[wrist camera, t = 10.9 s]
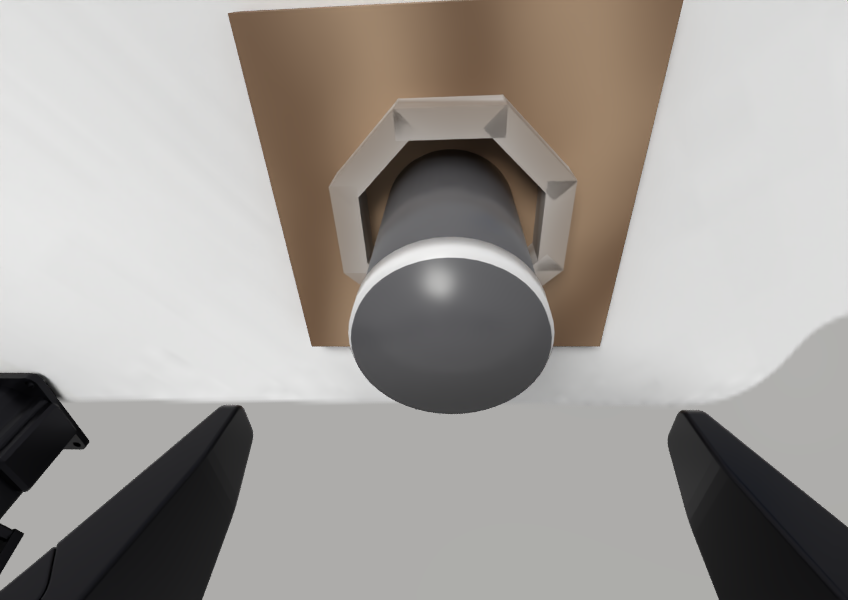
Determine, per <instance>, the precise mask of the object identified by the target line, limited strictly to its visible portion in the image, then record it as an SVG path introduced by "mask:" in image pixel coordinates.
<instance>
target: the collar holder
mask: <svg viewBox="0 0 848 600" xmlns="http://www.w3.org/2000/svg"><path fill="white" fill-rule="evenodd" d="M682 4H683V0H451V1H432V2H413V3H393V4H374V5H355V6H336V7H317V8H298V9H279V10H260V11H241V12H233V13H228V16H229V20H230V24H231V28H232V32H233V36H234V40H235V44H236V48H237V52H238V56H239V60H240V63H241V67H242V71H243V75H244V79H245V83H246V87H247V91H248V95H249V99H250V103H251V107H252V111H253V115H254V119H255V123H256V127H257V131H258V135H259V139H260V143H261V147H262V151H263V155H264V159H265V163H266V166H267V170H268V174H269V178H270V182H271V186H272V190H273V194H274V198H275V202H276V206H277V210H278V214H279V218H280V222H281V226H282V230H283V234H284V238H285V242H286V246H287V250H288V254H289V258H290V262H291V266H292V269H293V273H294V277H295V281H296V285H297V289H298V293H299V297H300V301H301V305H302V309H303V313H304V317H305V321H306V325H307V329H308V333H309V337H310V341H311V345H312V346H350V344H349V335H348V330H349V320H350V316H351V312H352V309H353V305H354V302H355V299H356V295H357V292H358V290H359V288H360V285H361V283H362V282H363V280H364V279H365V277H366V274H367V271H368V267H369V264H370V260H371V257H372V253H373V249H374V246H375V242H376V239H377V235H378V232H379V228H380V225H381V221H382V218H383V214H384V211H385V207H386V203H387V200H388V196H389V193H390V190H391V188H392V185H393V183H394V181H395V180H396V178H397V176H398V175H399V174H400V173H401V171H402V170H403V169H404V168H405V167H406V166H407V165H408V164H410V163H411V162H412V161H414V160H415V159H417V158H419V157H421V156H422V155H425V154H428V153H430V152H434V151H438V150H445V149H459V150H465V151H469V152H472V153H475V154H478V155H480V156H482V157H484V158H485V159H487V160H489V161H490V162H491V163H493V164H494V165H495V166H496V167H497V168H498V169H499V170H500V171H501V172H502V174H503V175H504V177H505V178H506V180H507V182H508V184H509V186H510V188H511V192H512V195H513V198H514V202H515V205H516V209H517V212H518V216H519V219H520V223H521V226H522V230H523V233H524V236H525V240H526V243H527V247H528V250H529V254H530V257H531V261H532V264H533V268H534V271H535V275H536V277H537V278H538V280H539V281H540V283H541V285H542V287H543V289H544V291H545V295H546V298H547V301H548V304H549V308H550V311H551V315H552V318H553V322H554V343H553V346H600V343H601V339H602V335H603V331H604V326H605V322H606V318H607V314H608V310H609V306H610V302H611V298H612V293H613V289H614V285H615V281H616V277H617V273H618V269H619V264H620V260H621V256H622V252H623V248H624V244H625V240H626V236H627V231H628V227H629V223H630V219H631V215H632V211H633V207H634V203H635V198H636V194H637V190H638V186H639V182H640V178H641V174H642V169H643V165H644V161H645V157H646V153H647V149H648V145H649V141H650V136H651V132H652V128H653V124H654V120H655V116H656V112H657V107H658V103H659V99H660V95H661V91H662V87H663V83H664V79H665V74H666V70H667V66H668V62H669V58H670V54H671V50H672V45H673V41H674V37H675V33H676V29H677V25H678V21H679V17H680V12H681V8H682Z"/></svg>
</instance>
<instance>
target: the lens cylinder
mask: <svg viewBox="0 0 848 600" xmlns="http://www.w3.org/2000/svg"><path fill="white" fill-rule="evenodd" d="M348 335H349V344H350V347H351V351H352V354H353V356H354V358H355V360H356V362H357V365H358V367H359V368H360V370H361V371H362V373H363V374H364V376H365V377H366V378H367V379H368V380H369V382H370V383H371V384H372V385H374V386H375V387H376V388H377V389H378V390H379V391H381V392H382V393H383V394H385V395H386V396H388V397H390V398H391V399H393V400H395V401H397V402H399V403H401V404H404V405H406V406H409V407H412V408H415V409H419V410H423V411H427V412H433V413H443V414H444V413H445V414H463V413H470V412H477V411H481V410H486V409H489V408H492V407H495V406H498V405H500V404H502V403H505V402H507V401H509V400H511V399H512V398H514V397H516V396H517V395H519V394H520V393H522V392H523V391H524V390H526V389H527V388H528V387H529V386H530V385H531V384H532V383H533V382H534V381H535V380H536V378H537V377H538V376H539V375H540V373H541V372H542V370H543V368H544V367H545V365H546V363H547V361H548V359H549V356H550V354H551V351H552V347H553V343H554V322H553V318H552V315H551V311H550V308H549V304H548V301H547V298H546V295H545V291H544V289H543V287H542V285H541V283H540V281H539V280H538V278H537V277H536V275H535V271H534V268H533V264H532V261H531V257H530V254H529V250H528V247H527V243H526V240H525V236H524V233H523V230H522V226H521V223H520V219H519V216H518V212H517V209H516V205H515V202H514V198H513V195H512V192H511V188H510V186H509V184H508V182H507V180H506V178H505V177H504V175H503V174H502V172H501V171H500V170H499V169H498V168H497V167H496V166H495V165H494V164H493V163H491V162H490V161H489V160H487V159H485V158H484V157H482V156H480V155H478V154H475V153H472V152H469V151H465V150H459V149H445V150H438V151H434V152H430V153H428V154H425V155H422V156H421V157H419V158H417V159H415V160H414V161H412V162H411V163H410V164H408V165H407V166H406V167H405V168H404V169H403V170H402V171H401V173H400V174H399V175H398V176H397V178H396V180H395V181H394V183H393V185H392V188H391V190H390V193H389V196H388V200H387V203H386V207H385V211H384V214H383V218H382V221H381V225H380V228H379V232H378V235H377V239H376V242H375V246H374V249H373V253H372V257H371V260H370V264H369V267H368V271H367V274H366V277H365V279H364V280H363V282H362V283H361V285H360V288H359V290H358V292H357V295H356V299H355V302H354V305H353V309H352V312H351V316H350V320H349V330H348Z"/></svg>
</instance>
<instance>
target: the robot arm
mask: <svg viewBox="0 0 848 600" xmlns="http://www.w3.org/2000/svg"><path fill="white" fill-rule="evenodd" d="M252 440H253V430H252V427H251V425H250V422H249V420H248V417H247V415H246V413H245V410H244V408H243V407H242V406H240V405H223V406H221V407H219V408H218V409H217V410H215V411H214V412H213V413H212V414H211V415H209V416H208V417H207V418H206V419H205V420H204V421H202V422H201V423H200V424H199V425H197V426H196V427H195V428H194V429H193V430H192V431H190V432H189V433H188V434H187V435H186V436H184V437H183V438H182V439H181V440H180V441H179V442H177V443H176V444H175V445H174V446H173V447H172V448H170V449H169V450H168V451H167V452H166V453H164V454H163V455H162V456H161V457H160V458H158V459H157V460H156V461H155V462H154V463H153V464H151V465H150V466H149V467H148V468H147V469H145V470H144V471H143V472H142V473H141V474H140V475H138V476H137V477H136V478H135V479H133V480H132V481H131V482H130V483H129V484H128V485H126V486H125V487H124V488H123V489H122V490H120V491H119V492H118V493H117V494H116V495H115V496H113V497H112V498H111V499H110V500H109V501H107V502H106V503H105V504H104V505H103V506H101V507H100V508H99V509H98V510H97V511H96V512H94V513H93V514H92V515H91V516H90V517H88V518H87V519H86V520H85V521H84V522H83V523H81V524H80V525H79V526H78V527H77V528H76V529H74V530H73V531H72V532H71V533H70V534H68V535H67V536H66V537H65V538H64V539H62V540H61V541H60V542H59V543H58V544H57V547H53V548H51V549H50V550H49V551H48V552H47V553H46V554H45V555H43V556H42V557H41V558H40V559H38V560H37V561H36V562H35V563H34V564H33V565H31V566H30V567H29V568H28V569H26V570H25V571H24V572H23V573H22V574H20V575H19V576H18V577H17V578H15V579H14V580H13V581H12V582H11V583H9V584H8V585H7V586H6V587H4V588H3V589H2V590H1V591H0V600H202V598H203V596H204V593H205V590H206V587H207V585H208V582H209V579H210V577H211V573H212V571H213V568H214V566H215V563H216V560H217V557H218V554H219V552H220V549H221V547H222V544H223V541H224V538H225V535H226V533H227V530H228V527H229V525H230V522H231V519H232V516H233V513H234V510H235V507H236V503H237V500H238V496H239V492H240V488H241V484H242V480H243V476H244V472H245V468H246V464H247V460H248V456H249V452H250V448H251V444H252ZM88 443H89V440H88V438H87V437H86V436H85V434H84V433H83V432H82V430H81V429H80V428H79V427H78V425H77V424H76V422H75V421H74V420H73V419H72V417H71V416H70V415H69V413H68V412H67V411H66V409H65V408H64V407H63V405H62V404H61V403H60V401H59V400H58V399H57V397H56V396H55V395H54V393H53V392H52V391H51V389H50V388H49V387H48V386H47V384H46V383H45V382H44V380H43V379H42V378H41V377H39V376H38V375H36V374H32V373H0V519H1V518H2V516H3V515H4V514H5V513H6V511H7V510H8V509H9V508H10V507H11V506H12V504H13V503H14V502H15V501H16V500H17V499H18V497H19V496H20V495H21V494H22V493H23V492H26V491H28V490H30V488H31V487H32V486H33V485H34V484H35V482H36V481H37V480H38V479H39V478H40V476H41V475H42V474H43V473H44V472H45V470H46V469H47V468H48V467H49V466H50V464H51V463H52V462H53V461H54V460H55V458H56V457H57V456H58V455H59V454H60V452H61V451H62V450H63V449H84V448H85V447H86V446H87V444H88ZM668 447H669V452H670V455H671V459H672V462H673V466H674V470H675V474H676V477H677V481H678V485H679V488H680V492H681V496H682V499H683V503H684V507H685V510H686V514H687V517H688V520H689V523H690V526H691V528H692V531H693V534H694V537H695V539H696V542H697V544H698V547H699V550H700V552H701V555H702V557H703V560H704V562H705V565H706V568H707V570H708V572H709V575H710V578H711V580H712V583H713V585H714V588H715V590H716V593H717V596H718V598H719V600H848V527H847V526H846V525H844V524H843V523H842V522H841V521H839V520H838V519H837V518H836V517H835V516H833V515H832V514H831V513H830V512H828V511H827V510H826V509H825V508H823V507H822V506H821V505H820V504H818V503H817V502H816V501H815V500H813V499H812V498H811V497H810V496H809V495H807V494H806V493H805V492H804V491H802V490H801V489H800V488H798V487H797V486H796V485H795V484H794V483H792V482H791V481H790V480H788V479H787V478H786V477H785V476H784V475H782V474H781V473H780V472H779V471H777V470H776V469H775V468H773V466H771V465H770V464H769V463H768V462H766V461H765V460H764V459H762V458H761V457H760V456H759V455H758V454H756V453H755V452H754V451H753V450H751V449H750V448H749V447H748V446H746V445H745V444H744V443H743V442H742V441H740V440H739V439H738V438H737V437H735V436H734V435H733V434H732V433H730V432H729V431H728V430H727V429H725V428H724V427H723V426H721V425H720V424H719V423H718V422H717V421H715V420H714V419H713V418H712V417H710V416H709V415H708V414H706V413H705V412H703V411H700V410H681V411H680V412H679V413H678V414H677V416H676V419H675V421H674V423H673V426H672V428H671V430H670V433H669V435H668ZM23 535H24V533H22V532H20V531H18V530H17V529H10V528H8V527H6V526H4V525H2V524H0V574H1V572H2V570H3V569H4V567H5V565H6V563H7V562H8V560H9V558H10V557H11V555H12V553H13V552H14V550H15V548H16V547H17V545H18V543H19V542H20V540H21V538H22V537H23Z"/></svg>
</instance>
